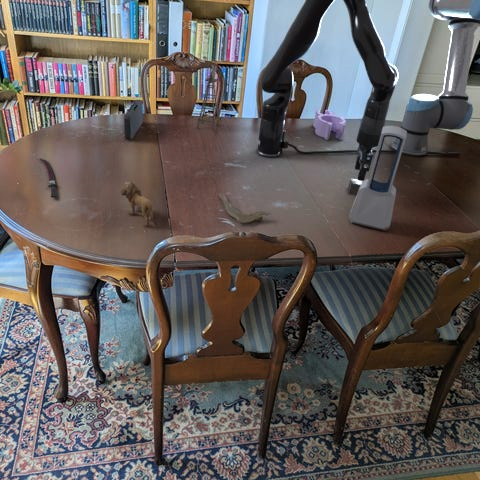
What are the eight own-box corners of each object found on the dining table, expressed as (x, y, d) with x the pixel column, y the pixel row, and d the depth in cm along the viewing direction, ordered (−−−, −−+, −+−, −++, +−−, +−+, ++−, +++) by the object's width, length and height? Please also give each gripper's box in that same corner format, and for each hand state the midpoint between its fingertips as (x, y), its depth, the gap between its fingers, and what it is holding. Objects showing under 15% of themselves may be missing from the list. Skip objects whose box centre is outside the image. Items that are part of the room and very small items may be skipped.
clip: (307, 123, 221) (309, 109, 217) (331, 124, 223) (334, 110, 219) (321, 139, 204) (324, 124, 201) (347, 140, 207) (350, 125, 203)
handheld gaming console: (136, 121, 202) (136, 98, 197) (143, 121, 202) (142, 98, 197) (123, 140, 183) (122, 115, 178) (130, 141, 183) (130, 116, 178)
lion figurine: (118, 210, 138) (116, 182, 133) (132, 204, 141) (131, 177, 137) (151, 229, 130) (150, 201, 126) (165, 223, 134) (165, 195, 129)
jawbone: (251, 231, 136) (251, 225, 134) (200, 206, 146) (200, 200, 145) (270, 218, 141) (270, 213, 140) (219, 195, 152) (219, 189, 150)
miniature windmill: (214, 131, 201) (219, 58, 184) (195, 128, 202) (199, 55, 185) (219, 124, 208) (224, 54, 192) (201, 122, 209) (205, 51, 193)
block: (347, 189, 165) (350, 178, 163) (360, 190, 165) (363, 180, 162) (348, 194, 161) (351, 183, 159) (361, 196, 161) (364, 185, 159)
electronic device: (389, 222, 147) (418, 130, 131) (388, 233, 141) (417, 138, 125) (350, 212, 150) (373, 122, 134) (347, 223, 144) (370, 129, 127)
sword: (61, 197, 141) (61, 193, 140) (50, 198, 139) (50, 194, 139) (49, 160, 164) (48, 156, 163) (39, 160, 163) (39, 157, 162)
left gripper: (357, 120, 157) (346, 164, 166) (362, 135, 145) (350, 182, 154) (379, 123, 157) (367, 167, 166) (386, 139, 145) (372, 185, 154)
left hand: (359, 174), depth 160 cm, fingers open, 8 cm apart
